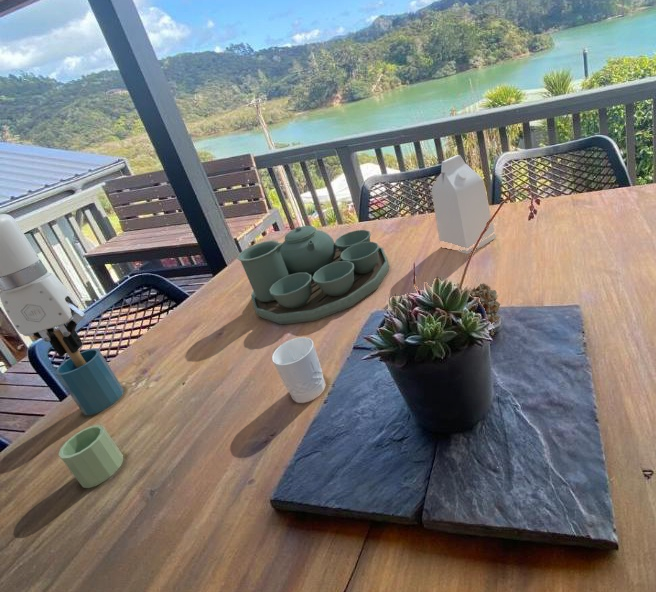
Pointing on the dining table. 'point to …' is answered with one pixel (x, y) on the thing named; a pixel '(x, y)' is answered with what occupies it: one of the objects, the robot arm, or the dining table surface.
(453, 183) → the milk
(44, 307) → the robot arm
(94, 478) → the holder
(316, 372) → the white cup
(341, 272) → the tea set
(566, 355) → the dining table surface
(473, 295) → the pine cone
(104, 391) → the blue faceted cup
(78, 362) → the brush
